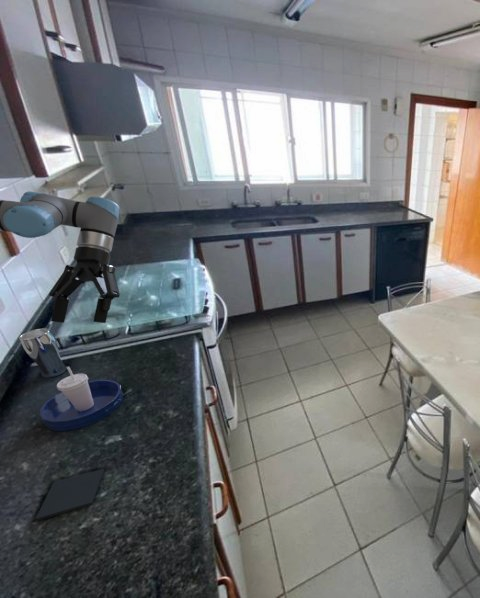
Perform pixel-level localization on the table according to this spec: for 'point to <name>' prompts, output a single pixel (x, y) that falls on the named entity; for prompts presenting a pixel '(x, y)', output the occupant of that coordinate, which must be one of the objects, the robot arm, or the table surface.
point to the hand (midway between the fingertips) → (78, 322)
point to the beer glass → (43, 352)
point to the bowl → (67, 417)
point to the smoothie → (77, 390)
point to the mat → (70, 494)
